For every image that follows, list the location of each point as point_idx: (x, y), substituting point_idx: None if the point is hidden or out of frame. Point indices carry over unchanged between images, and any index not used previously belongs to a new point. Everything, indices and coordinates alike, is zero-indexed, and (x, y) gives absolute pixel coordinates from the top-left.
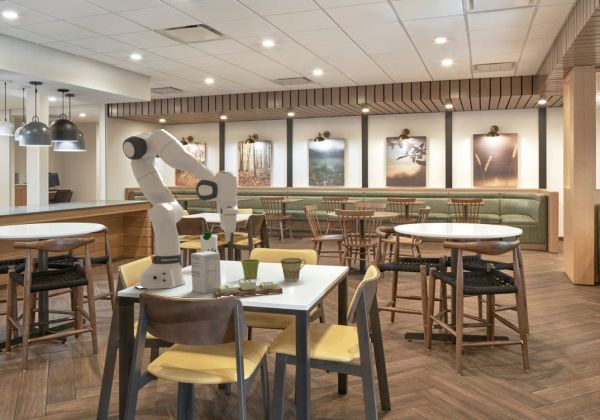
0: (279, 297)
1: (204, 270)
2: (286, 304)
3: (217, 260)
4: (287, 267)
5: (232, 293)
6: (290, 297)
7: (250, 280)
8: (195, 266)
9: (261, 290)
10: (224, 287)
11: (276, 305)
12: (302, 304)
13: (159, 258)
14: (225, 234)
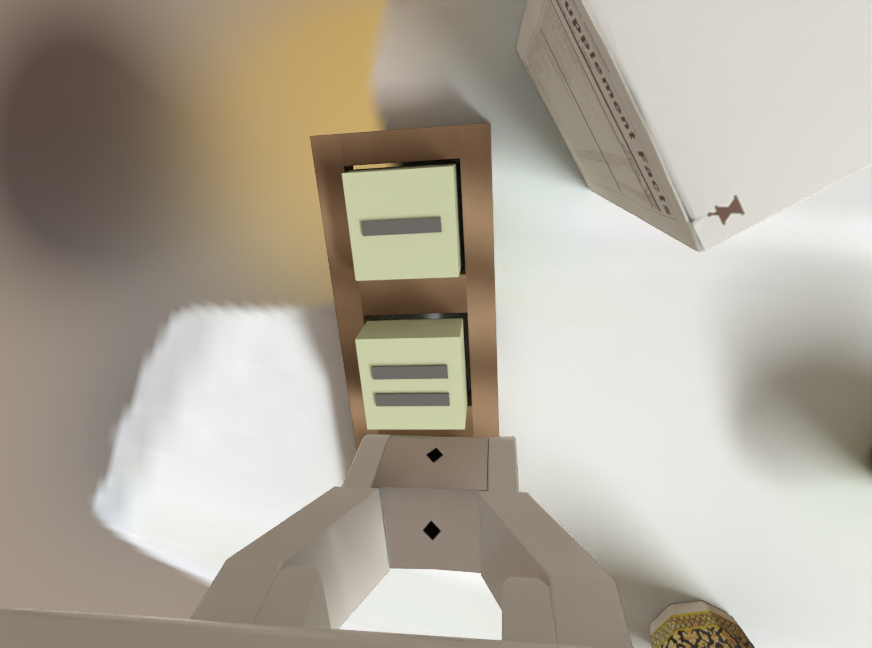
0: (278, 476)
1: (537, 15)
2: (135, 469)
3: (643, 198)
4: None
5: (328, 250)
6: (268, 517)
7: (432, 408)
8: None
9: (354, 425)
10: (381, 207)
11: (120, 427)
12: (130, 524)
13: None
14: (518, 550)
